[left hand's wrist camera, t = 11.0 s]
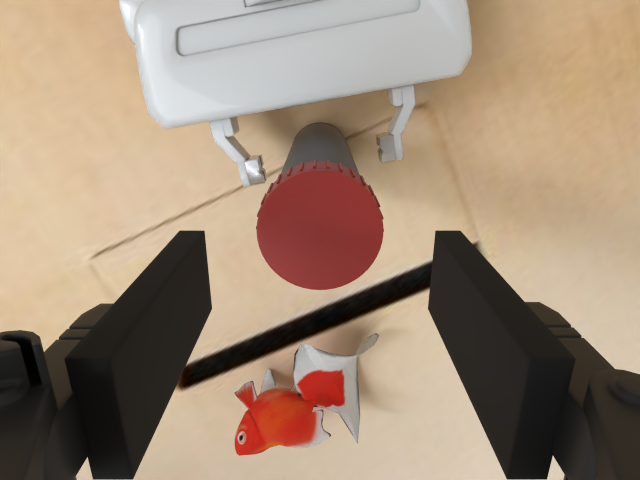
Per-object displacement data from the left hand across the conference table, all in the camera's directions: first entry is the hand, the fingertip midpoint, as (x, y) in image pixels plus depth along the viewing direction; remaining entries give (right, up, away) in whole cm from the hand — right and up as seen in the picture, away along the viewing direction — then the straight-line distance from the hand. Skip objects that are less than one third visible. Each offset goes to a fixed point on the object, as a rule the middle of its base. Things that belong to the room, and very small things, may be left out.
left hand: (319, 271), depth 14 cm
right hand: (0, +6, +16) cm, 17 cm away
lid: (0, +1, +4) cm, 4 cm away
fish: (-1, -11, +29) cm, 31 cm away
